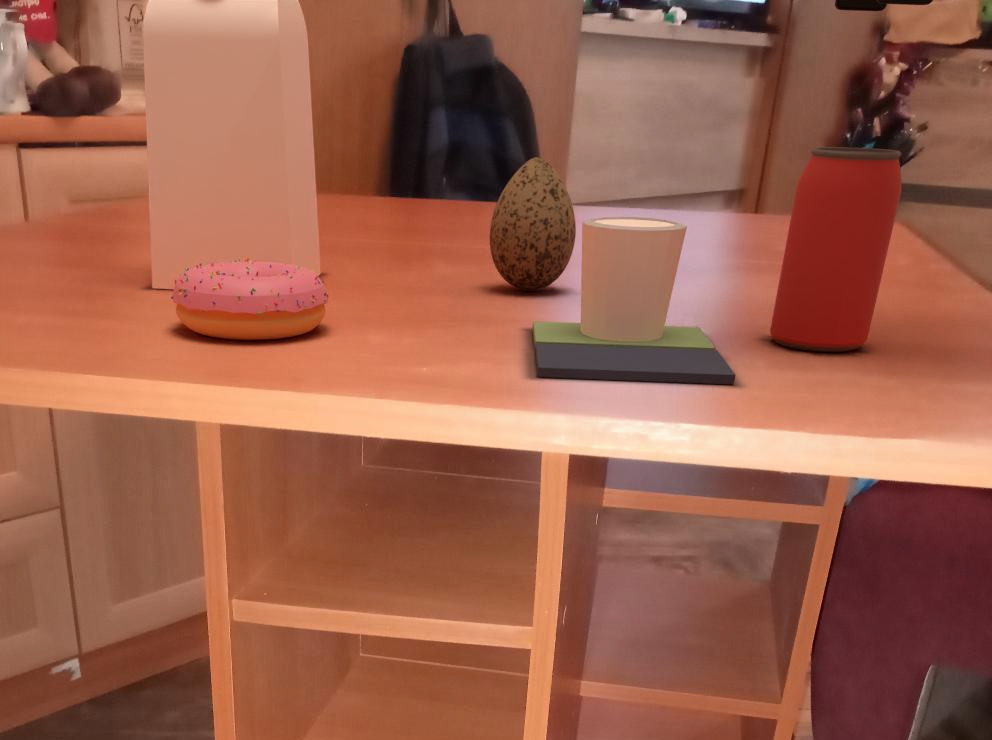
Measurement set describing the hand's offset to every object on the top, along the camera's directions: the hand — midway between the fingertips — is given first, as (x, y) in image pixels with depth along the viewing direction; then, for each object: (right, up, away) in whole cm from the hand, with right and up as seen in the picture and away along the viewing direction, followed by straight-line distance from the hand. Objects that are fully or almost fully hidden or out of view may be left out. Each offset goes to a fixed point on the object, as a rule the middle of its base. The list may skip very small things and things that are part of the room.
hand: (880, 7), depth 71 cm
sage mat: (-14, -17, +10) cm, 24 cm away
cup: (-14, -16, +9) cm, 24 cm away
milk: (-43, -4, +29) cm, 52 cm away
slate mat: (-15, -21, +3) cm, 26 cm away
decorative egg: (-18, -5, +28) cm, 34 cm away
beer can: (0, -17, +11) cm, 20 cm away
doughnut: (-40, -15, +11) cm, 44 cm away
